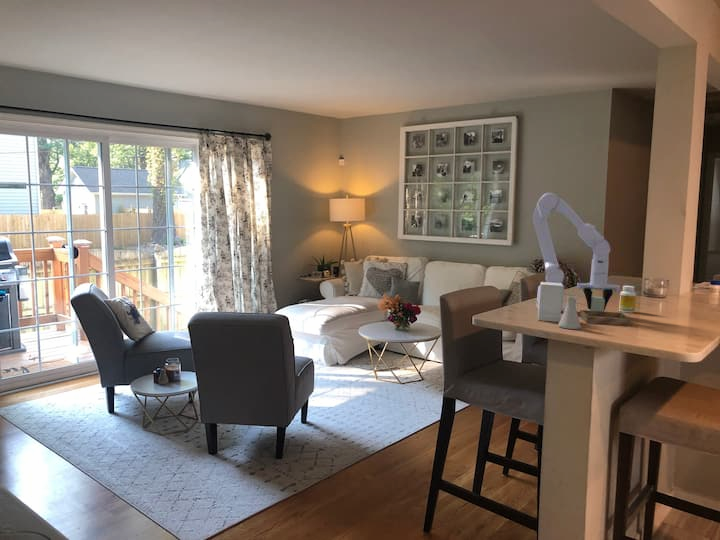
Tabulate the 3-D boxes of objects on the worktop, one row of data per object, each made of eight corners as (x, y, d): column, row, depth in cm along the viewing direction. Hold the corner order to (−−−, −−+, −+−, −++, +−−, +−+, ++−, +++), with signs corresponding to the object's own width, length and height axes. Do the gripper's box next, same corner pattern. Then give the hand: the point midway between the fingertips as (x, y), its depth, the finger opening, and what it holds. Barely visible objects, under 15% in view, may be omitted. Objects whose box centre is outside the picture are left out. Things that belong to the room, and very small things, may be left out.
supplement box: (560, 322, 192) (563, 285, 191) (537, 320, 194) (540, 284, 193) (559, 318, 199) (562, 282, 198) (537, 316, 201) (540, 281, 200)
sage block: (590, 314, 208) (592, 298, 208) (588, 312, 213) (589, 296, 212) (603, 315, 208) (604, 299, 207) (600, 312, 212) (602, 297, 211)
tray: (586, 323, 193) (586, 316, 193) (579, 316, 204) (580, 310, 204) (630, 325, 190) (631, 319, 190) (620, 318, 202) (621, 312, 202)
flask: (578, 331, 180) (581, 300, 179) (555, 327, 184) (557, 297, 183) (583, 327, 186) (585, 297, 185) (560, 323, 190) (562, 294, 189)
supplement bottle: (636, 313, 213) (638, 287, 212) (620, 312, 214) (623, 286, 213) (632, 310, 219) (634, 285, 217) (617, 309, 220) (619, 284, 218)
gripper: (580, 272, 206) (577, 309, 207) (623, 275, 203) (619, 312, 205) (576, 270, 212) (574, 306, 214) (618, 272, 210) (614, 308, 212)
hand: (596, 309), depth 210 cm, fingers closed on sage block, 4 cm apart
